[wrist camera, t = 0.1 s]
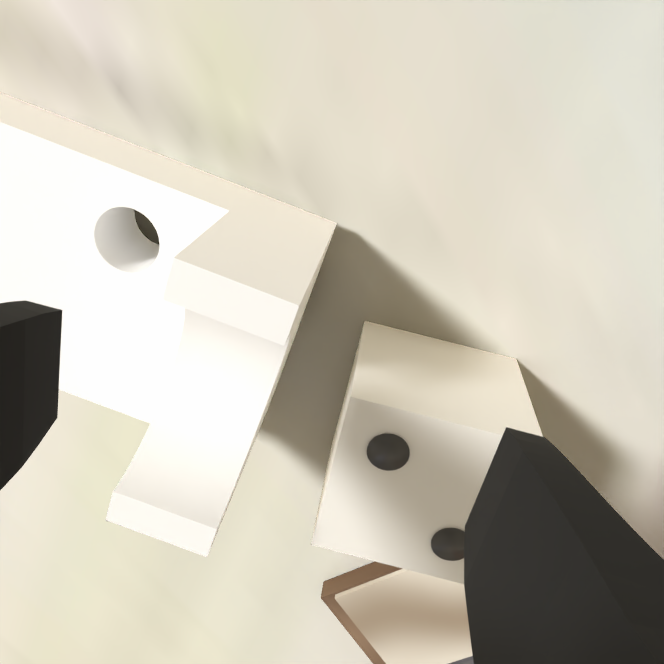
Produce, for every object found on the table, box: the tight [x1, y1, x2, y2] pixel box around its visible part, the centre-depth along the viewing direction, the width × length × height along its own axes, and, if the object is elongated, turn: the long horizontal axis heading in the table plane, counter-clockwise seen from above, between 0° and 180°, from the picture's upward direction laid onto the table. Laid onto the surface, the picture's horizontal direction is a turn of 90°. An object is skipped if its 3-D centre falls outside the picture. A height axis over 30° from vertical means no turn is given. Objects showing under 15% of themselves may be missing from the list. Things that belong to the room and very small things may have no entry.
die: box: [311, 321, 543, 584], centre depth 19 cm, size 5×5×5 cm
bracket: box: [0, 92, 337, 557], centre depth 17 cm, size 13×7×8 cm, turn 70°
